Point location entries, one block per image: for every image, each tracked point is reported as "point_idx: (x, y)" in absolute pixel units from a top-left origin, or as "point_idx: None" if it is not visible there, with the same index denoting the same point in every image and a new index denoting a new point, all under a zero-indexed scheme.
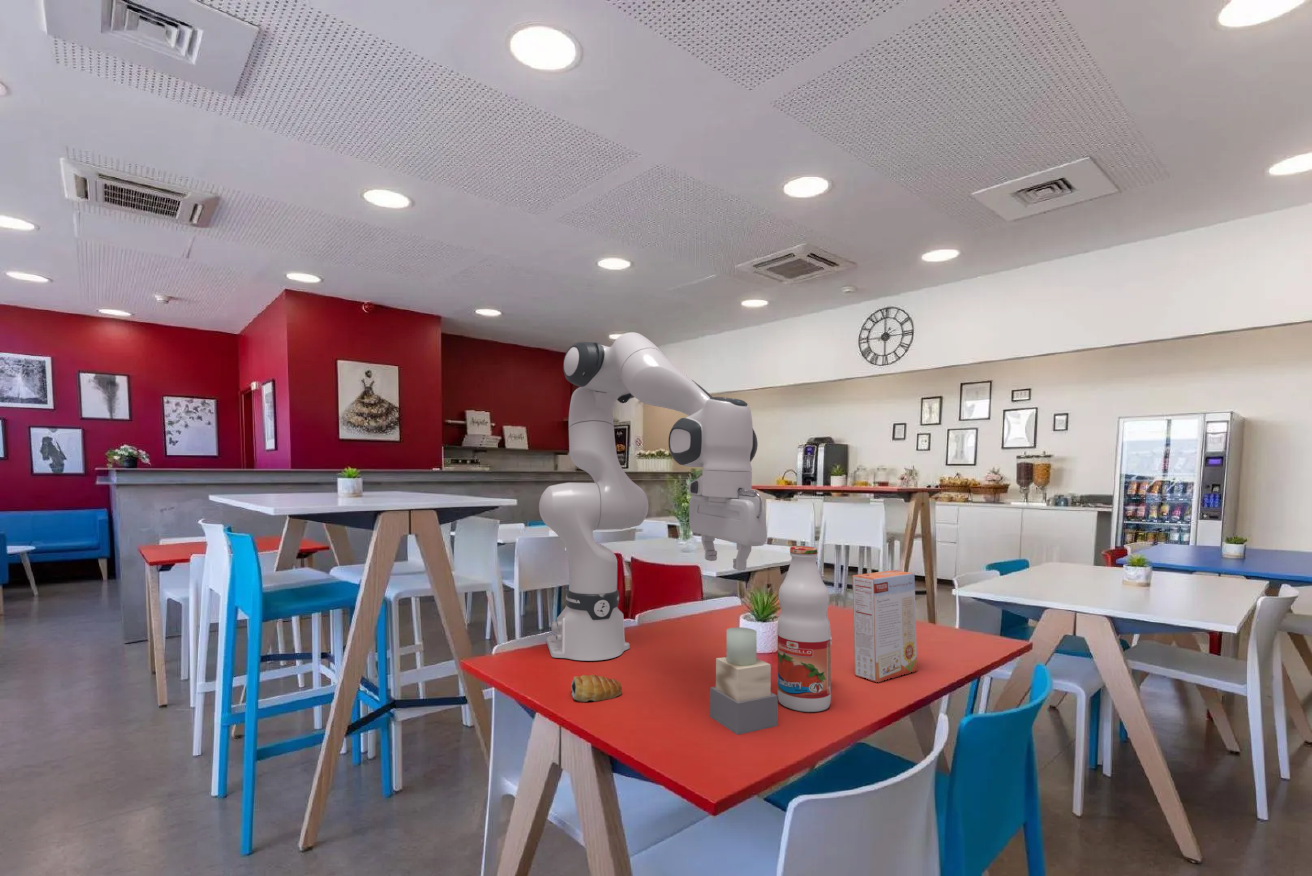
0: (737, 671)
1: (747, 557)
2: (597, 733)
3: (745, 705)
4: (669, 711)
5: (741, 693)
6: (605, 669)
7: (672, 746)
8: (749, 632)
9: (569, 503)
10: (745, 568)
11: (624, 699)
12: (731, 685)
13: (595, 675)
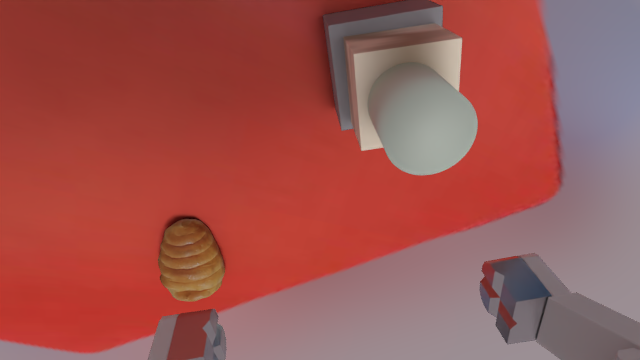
0: None
1: (594, 304)
2: (339, 268)
3: None
4: (291, 165)
5: None
6: (39, 216)
7: (415, 197)
8: (456, 119)
9: None
10: (535, 257)
11: (219, 217)
12: None
13: (178, 273)
